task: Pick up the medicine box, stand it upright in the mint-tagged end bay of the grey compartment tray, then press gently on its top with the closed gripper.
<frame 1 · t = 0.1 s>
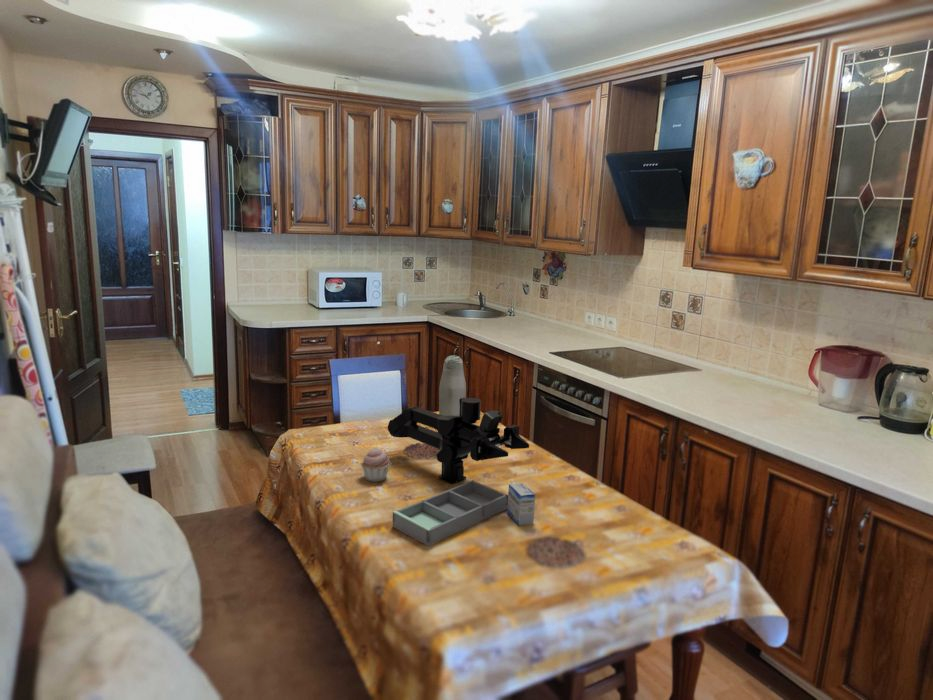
hand: (518, 450, 174), 17 cm above the table, tool horizontal, fingers open, 9 cm apart
grey compartment tray: (452, 517, 170), on the table
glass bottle: (451, 426, 243), on the table
cupcake: (375, 478, 193), on the table
medicine box: (520, 519, 170), on the table
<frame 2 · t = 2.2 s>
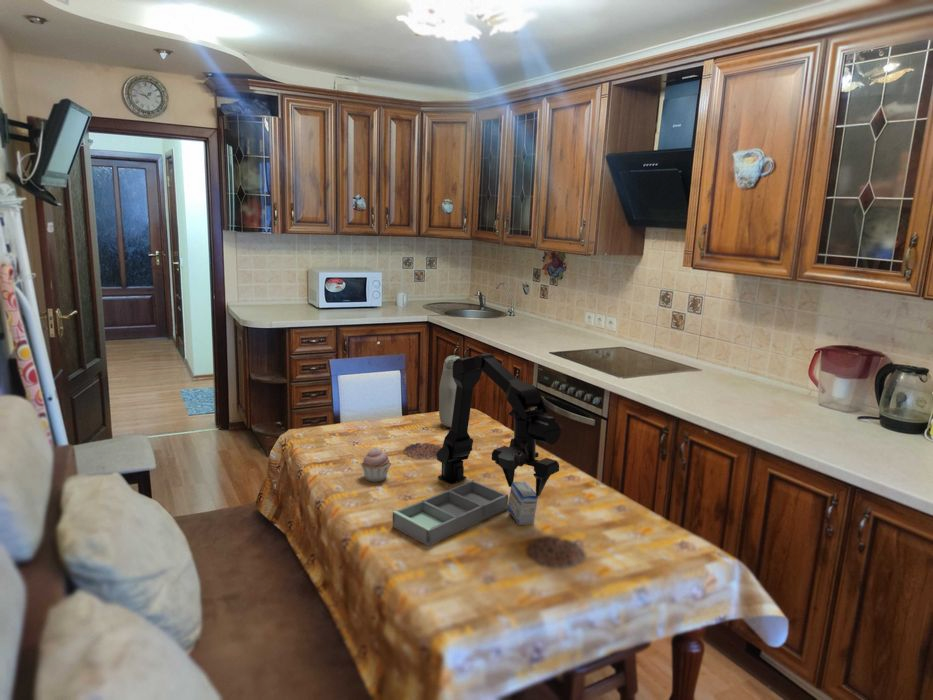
hand: (524, 491, 168), 8 cm above the table, tool pointing down, fingers open, 9 cm apart
medicine box: (520, 517, 170), on the table, touching gripper
everything else where it was.
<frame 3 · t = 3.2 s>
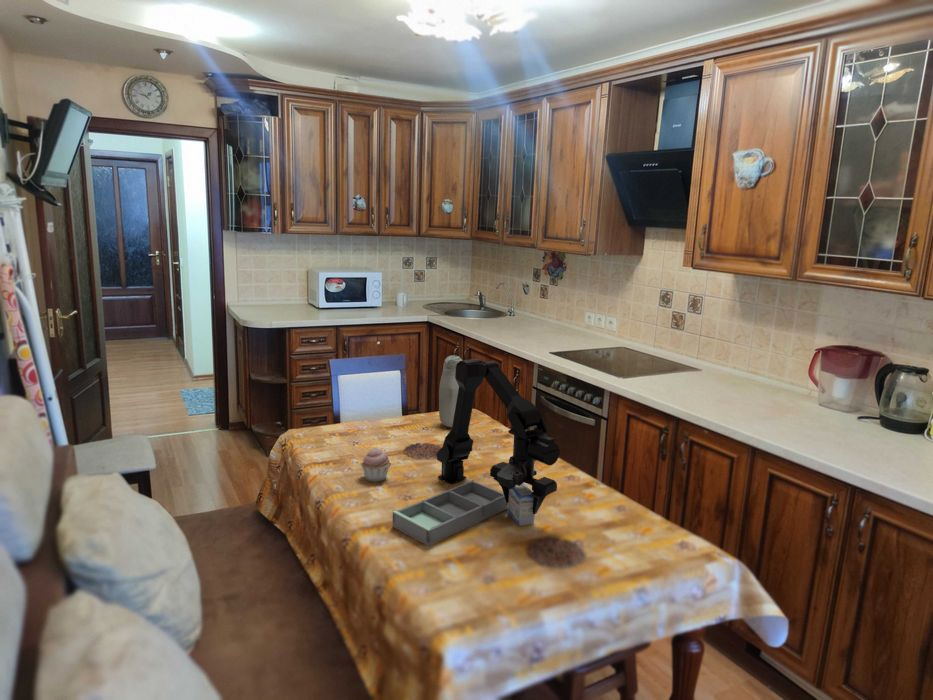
hand: (521, 508, 169), 3 cm above the table, tool pointing down, fingers closed on medicine box, 9 cm apart
medicine box: (520, 519, 170), on the table, touching gripper
everything else where it was.
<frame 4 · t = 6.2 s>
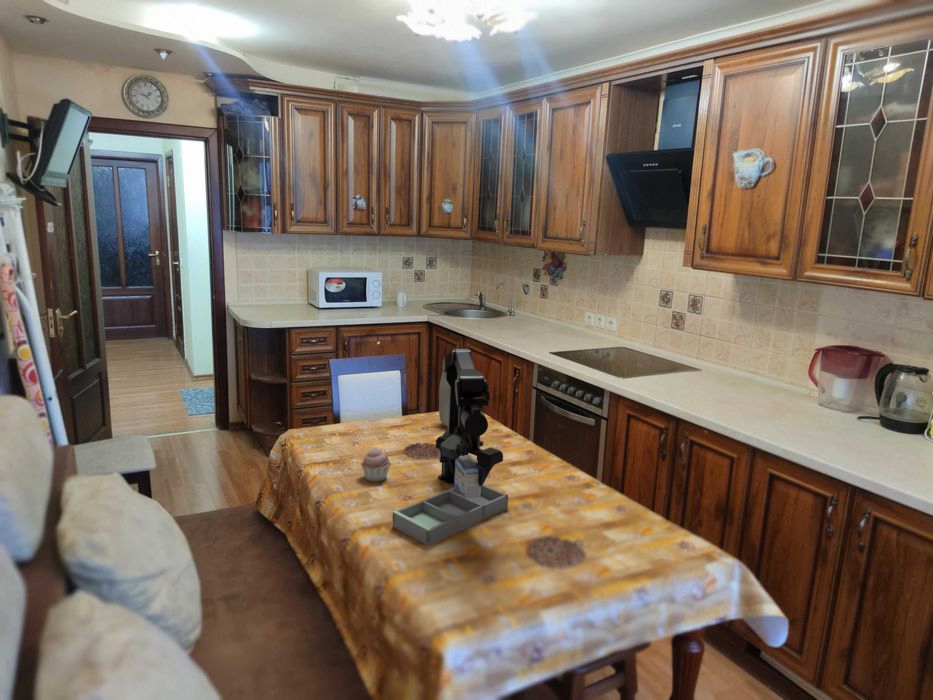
hand: (467, 480, 163), 12 cm above the table, tool pointing down, fingers closed on medicine box, 9 cm apart
medicine box: (467, 492, 164), point 9 cm above the table, touching gripper
everything else where it was.
when the fingers open (5 cm above the table, at t = 8.9 s): medicine box drops 1 cm, resting on grey compartment tray.
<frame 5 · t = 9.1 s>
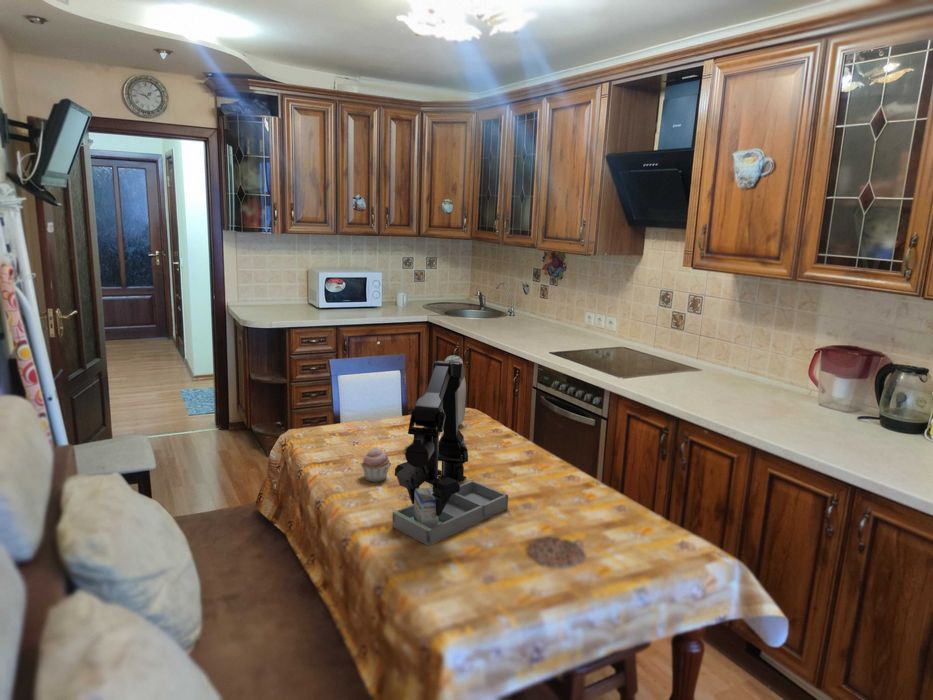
hand: (426, 509, 162), 5 cm above the table, tool pointing down, fingers open, 9 cm apart
medicine box: (425, 525, 162), point 1 cm above the table, touching grey compartment tray
everything else where it was.
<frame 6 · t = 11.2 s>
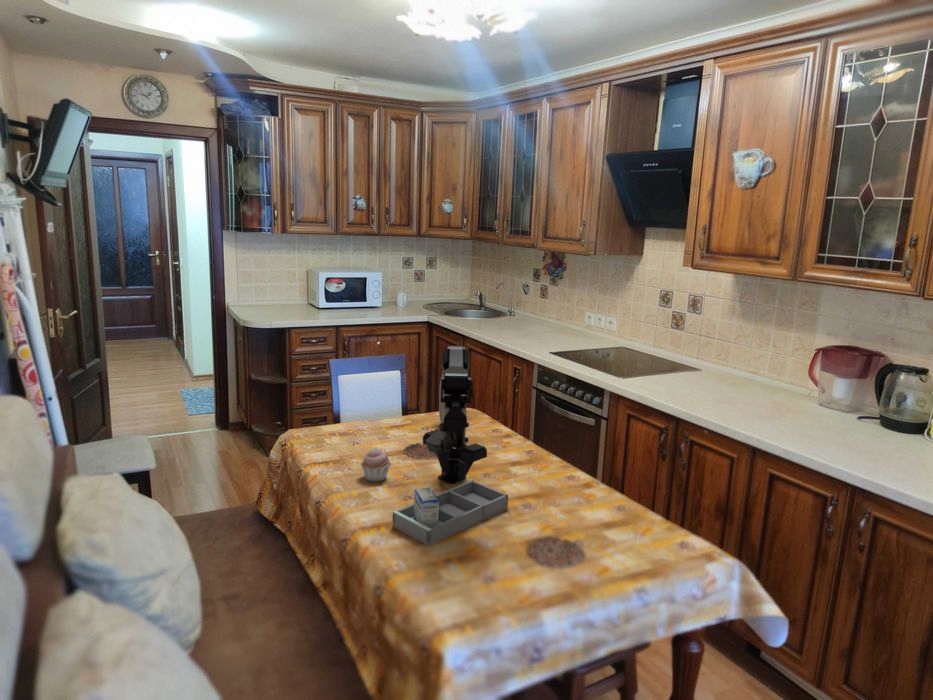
hand: (453, 475, 167), 12 cm above the table, tool pointing down, fingers open, 7 cm apart
nothing on the table moved.
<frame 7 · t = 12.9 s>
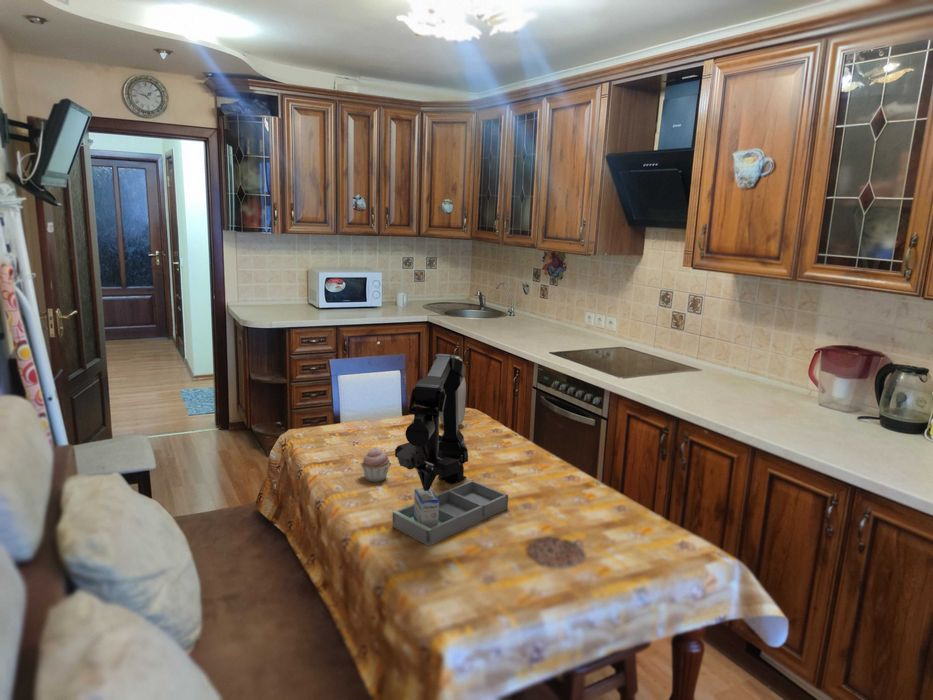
hand: (426, 490, 161), 11 cm above the table, tool pointing down, fingers closed
nothing on the table moved.
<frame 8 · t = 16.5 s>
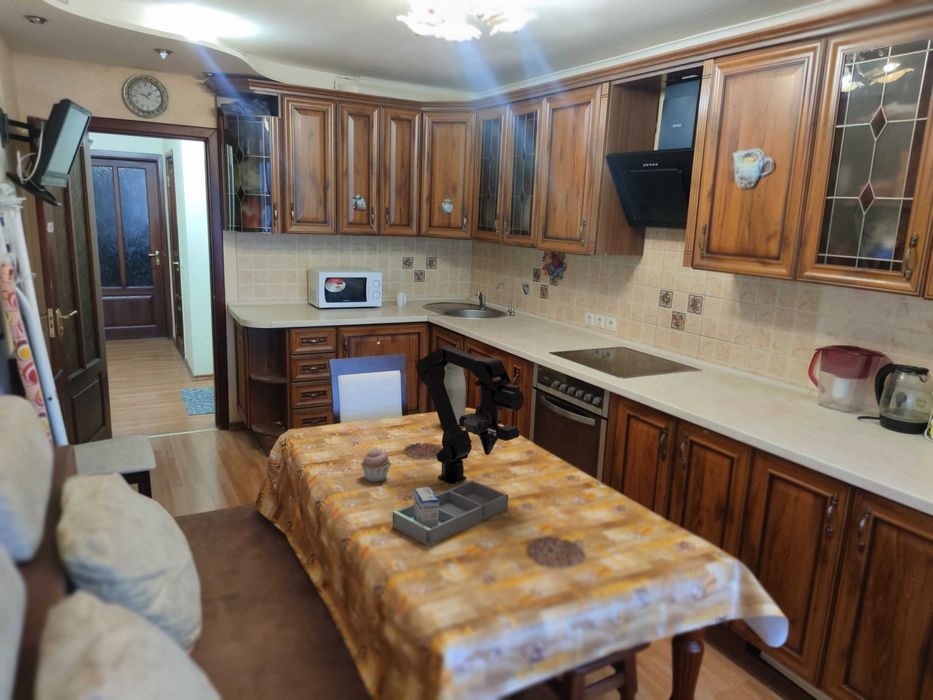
hand: (487, 454, 183), 12 cm above the table, tool pointing down, fingers closed
nothing on the table moved.
at the end: medicine box inside the target area on the grey compartment tray (0.1 cm from its centre), point 1.0 cm above the grey compartment tray's base; medicine box tilted 0°; the gripper is holding nothing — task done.
